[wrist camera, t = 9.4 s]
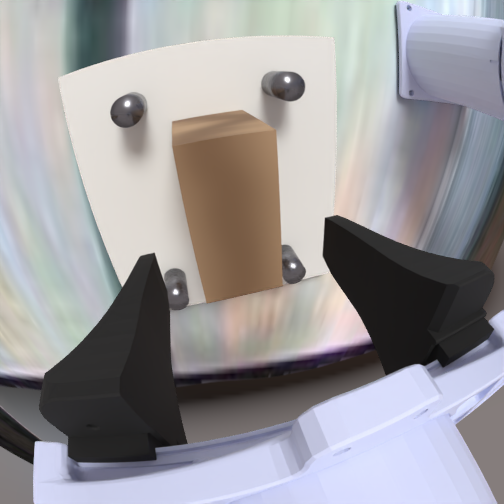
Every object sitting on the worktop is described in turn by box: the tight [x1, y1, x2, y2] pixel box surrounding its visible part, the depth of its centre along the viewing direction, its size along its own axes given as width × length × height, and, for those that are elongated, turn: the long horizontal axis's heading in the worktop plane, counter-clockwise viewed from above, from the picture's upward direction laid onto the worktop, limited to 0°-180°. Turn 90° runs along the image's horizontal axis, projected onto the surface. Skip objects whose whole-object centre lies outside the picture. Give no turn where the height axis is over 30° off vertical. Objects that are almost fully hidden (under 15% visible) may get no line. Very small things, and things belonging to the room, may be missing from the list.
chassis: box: [58, 36, 337, 310], centre depth 18 cm, size 16×18×4 cm
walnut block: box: [172, 110, 283, 303], centre depth 15 cm, size 4×8×6 cm, turn 5°
